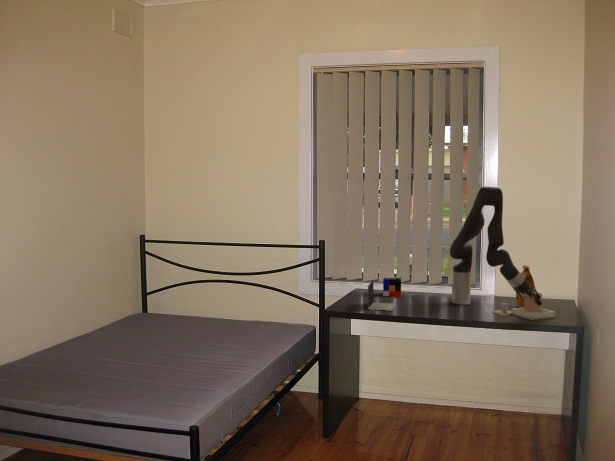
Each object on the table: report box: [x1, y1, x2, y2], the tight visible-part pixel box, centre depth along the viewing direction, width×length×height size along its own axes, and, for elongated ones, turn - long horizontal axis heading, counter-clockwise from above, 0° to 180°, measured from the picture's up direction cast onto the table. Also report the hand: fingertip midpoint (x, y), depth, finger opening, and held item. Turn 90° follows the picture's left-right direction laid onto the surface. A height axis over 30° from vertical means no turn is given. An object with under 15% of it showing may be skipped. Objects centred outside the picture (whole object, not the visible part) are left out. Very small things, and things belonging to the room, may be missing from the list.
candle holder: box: [492, 302, 514, 317], centre depth 316 cm, size 8×8×5 cm
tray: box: [511, 307, 556, 321], centre depth 310 cm, size 14×14×3 cm
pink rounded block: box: [524, 292, 543, 313], centre depth 310 cm, size 6×7×9 cm
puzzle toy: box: [382, 276, 402, 298], centre depth 368 cm, size 10×10×10 cm
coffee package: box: [515, 264, 537, 308], centre depth 328 cm, size 10×12×22 cm
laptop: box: [367, 280, 397, 312], centre depth 334 cm, size 18×12×13 cm
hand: (535, 303), depth 311 cm, fingers closed on pink rounded block, 5 cm apart
